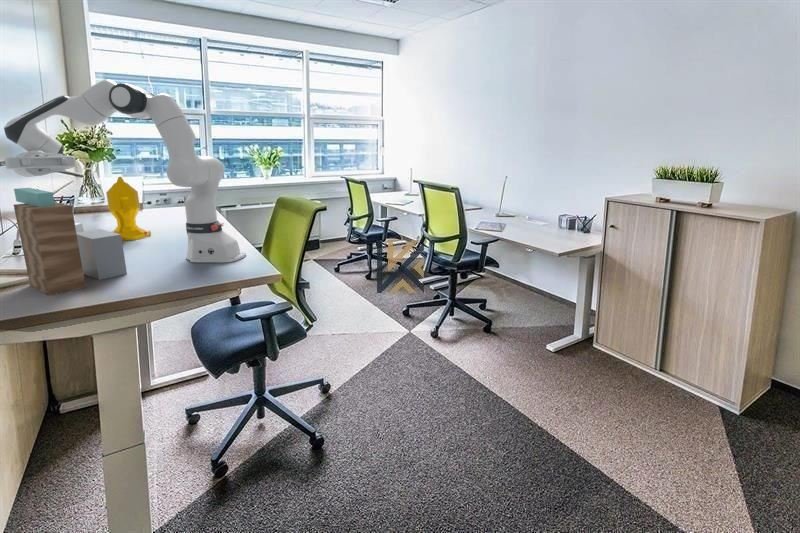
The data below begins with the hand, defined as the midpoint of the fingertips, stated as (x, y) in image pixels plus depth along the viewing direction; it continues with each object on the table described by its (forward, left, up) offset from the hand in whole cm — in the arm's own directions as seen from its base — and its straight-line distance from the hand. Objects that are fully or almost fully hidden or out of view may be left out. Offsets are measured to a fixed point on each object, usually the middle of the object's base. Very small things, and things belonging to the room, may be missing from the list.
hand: (48, 161), depth 164 cm
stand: (-15, +19, -38) cm, 45 cm away
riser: (-17, +3, -38) cm, 42 cm away
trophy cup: (+15, -53, -38) cm, 67 cm away
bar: (-9, +17, -12) cm, 22 cm away
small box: (+22, -27, -38) cm, 52 cm away
